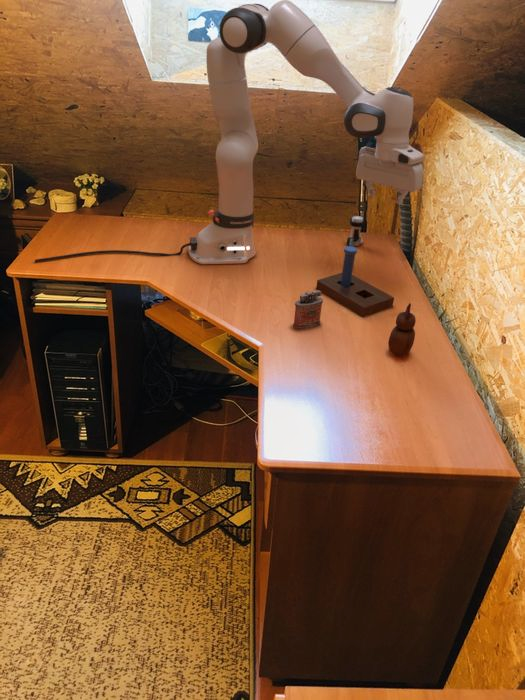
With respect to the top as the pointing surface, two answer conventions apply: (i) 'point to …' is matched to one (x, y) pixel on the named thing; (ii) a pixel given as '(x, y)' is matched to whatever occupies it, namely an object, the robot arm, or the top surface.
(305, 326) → the lighter
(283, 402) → the top surface
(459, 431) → the top surface
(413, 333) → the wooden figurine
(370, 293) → the rack
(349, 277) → the peg
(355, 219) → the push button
